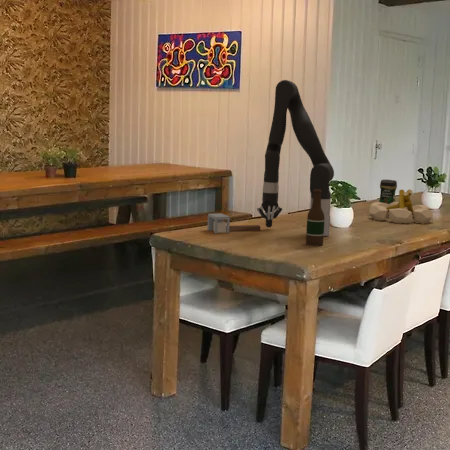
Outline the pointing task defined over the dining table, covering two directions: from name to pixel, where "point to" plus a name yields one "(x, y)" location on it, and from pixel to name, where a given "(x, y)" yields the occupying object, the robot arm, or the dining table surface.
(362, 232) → the dining table surface
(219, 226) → the block
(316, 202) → the beer bottle
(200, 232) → the dining table surface
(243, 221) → the dining table surface
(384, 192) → the coffee jar
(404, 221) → the campfire
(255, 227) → the bar
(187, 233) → the dining table surface
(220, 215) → the tunnel
